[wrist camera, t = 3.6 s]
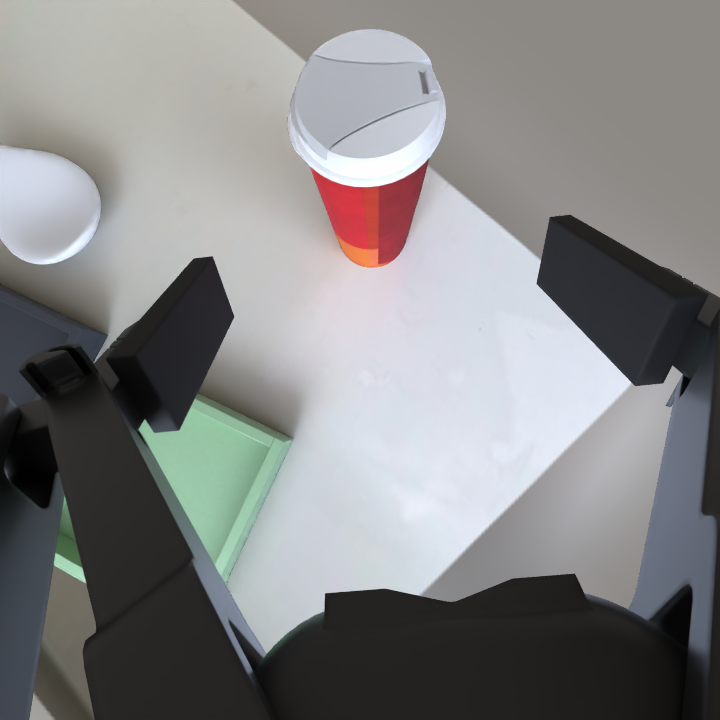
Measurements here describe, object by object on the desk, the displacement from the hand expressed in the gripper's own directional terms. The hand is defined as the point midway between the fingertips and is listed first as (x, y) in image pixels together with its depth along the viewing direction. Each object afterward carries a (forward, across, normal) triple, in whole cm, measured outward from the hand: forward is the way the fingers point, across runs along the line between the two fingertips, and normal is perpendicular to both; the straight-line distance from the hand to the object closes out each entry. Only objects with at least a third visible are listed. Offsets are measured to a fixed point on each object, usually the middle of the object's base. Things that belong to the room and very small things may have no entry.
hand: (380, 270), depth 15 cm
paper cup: (+17, 0, -4) cm, 17 cm away
